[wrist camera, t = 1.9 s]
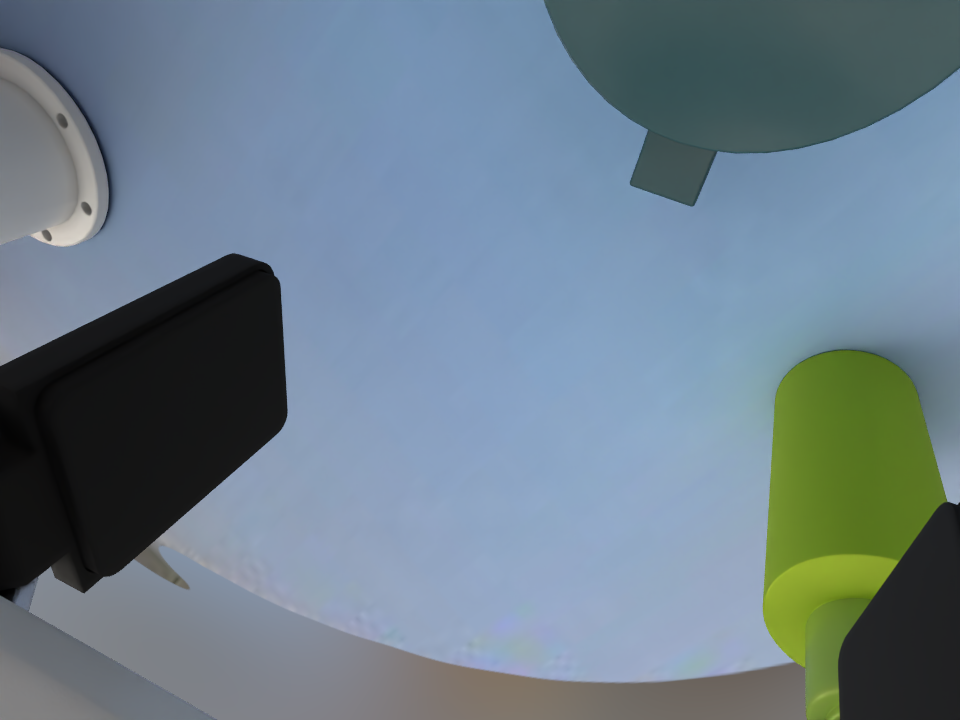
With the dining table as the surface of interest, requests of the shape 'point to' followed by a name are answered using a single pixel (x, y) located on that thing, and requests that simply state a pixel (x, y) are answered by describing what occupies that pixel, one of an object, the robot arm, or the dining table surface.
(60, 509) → the robot arm
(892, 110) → the pot lid
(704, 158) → the teal round container
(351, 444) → the dining table surface
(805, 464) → the soap dispenser
